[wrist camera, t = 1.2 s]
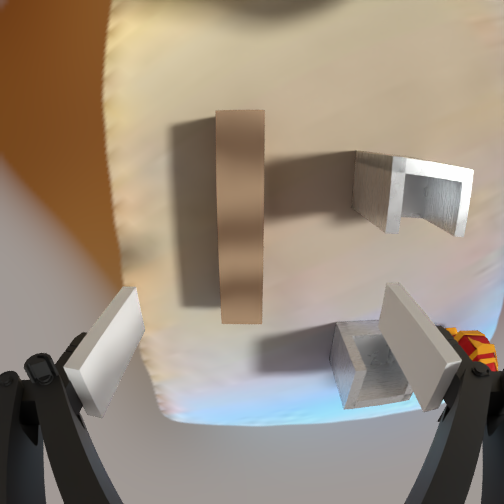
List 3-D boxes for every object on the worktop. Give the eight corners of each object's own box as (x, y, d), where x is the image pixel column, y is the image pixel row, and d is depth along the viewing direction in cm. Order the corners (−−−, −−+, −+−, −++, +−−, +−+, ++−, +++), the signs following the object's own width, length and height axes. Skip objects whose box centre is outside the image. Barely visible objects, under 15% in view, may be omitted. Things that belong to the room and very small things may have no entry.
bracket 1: (418, 212, 30) (463, 236, 22) (351, 207, 30) (385, 233, 22) (424, 159, 28) (473, 170, 20) (355, 150, 28) (392, 156, 20)
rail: (221, 115, 28) (215, 110, 23) (262, 115, 28) (264, 110, 23) (225, 299, 35) (221, 323, 30) (260, 299, 35) (261, 324, 30)
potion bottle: (403, 360, 38) (444, 436, 24) (446, 302, 35) (507, 370, 21) (442, 373, 40) (482, 437, 26) (481, 323, 36) (533, 381, 22)
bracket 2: (336, 322, 35) (355, 371, 27) (396, 318, 35) (425, 362, 27) (329, 359, 38) (343, 409, 29) (386, 354, 38) (409, 400, 29)
